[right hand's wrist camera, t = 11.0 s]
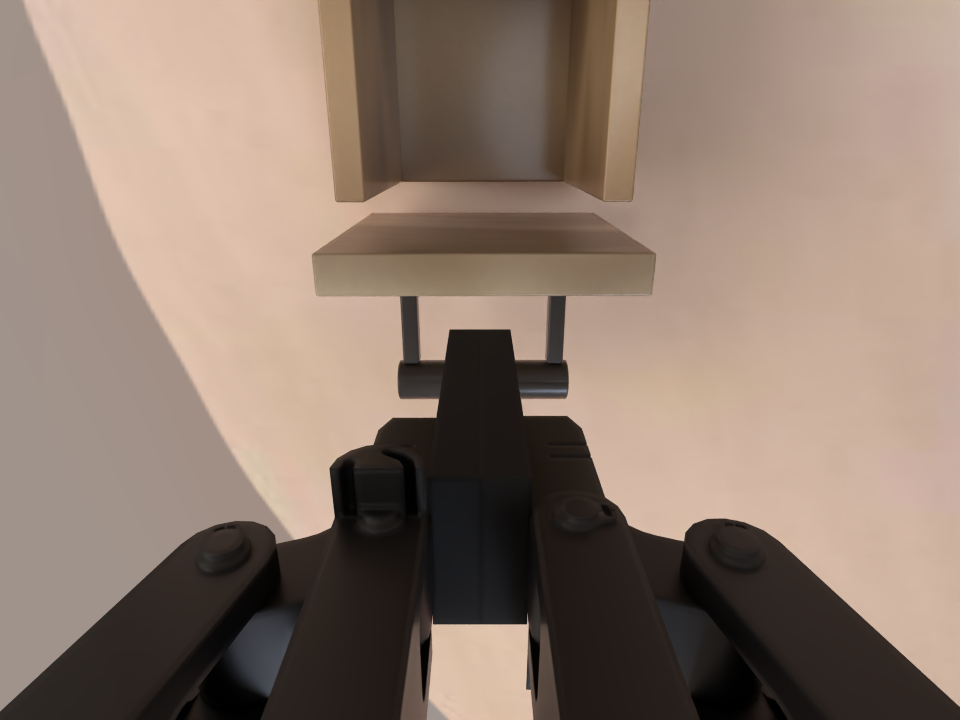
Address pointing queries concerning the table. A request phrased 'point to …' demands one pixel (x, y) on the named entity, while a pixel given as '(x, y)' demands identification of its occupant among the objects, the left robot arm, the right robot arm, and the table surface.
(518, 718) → the table surface
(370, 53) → the drawer
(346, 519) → the right robot arm
